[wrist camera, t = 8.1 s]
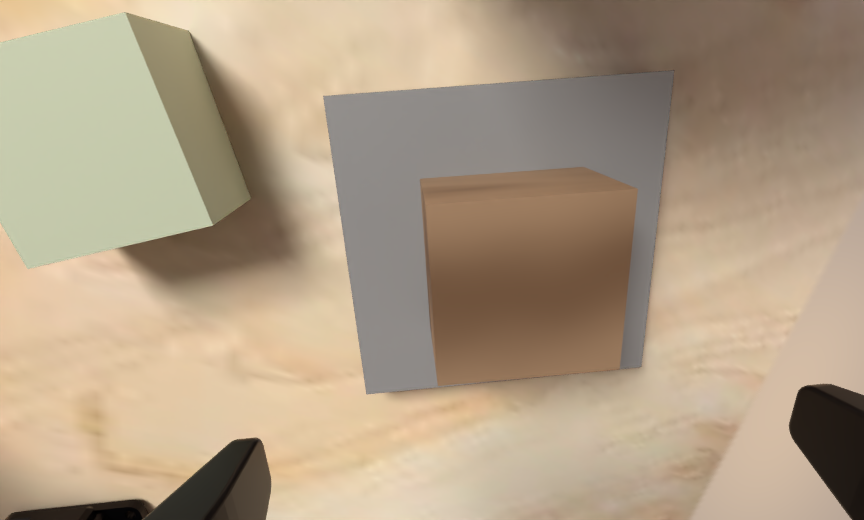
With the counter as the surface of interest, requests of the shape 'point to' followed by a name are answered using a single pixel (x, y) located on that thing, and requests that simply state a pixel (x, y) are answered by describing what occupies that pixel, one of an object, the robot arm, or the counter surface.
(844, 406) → the robot arm
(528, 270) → the walnut block
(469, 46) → the counter surface
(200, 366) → the counter surface
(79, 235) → the sage block
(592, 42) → the counter surface
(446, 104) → the plate
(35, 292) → the counter surface
